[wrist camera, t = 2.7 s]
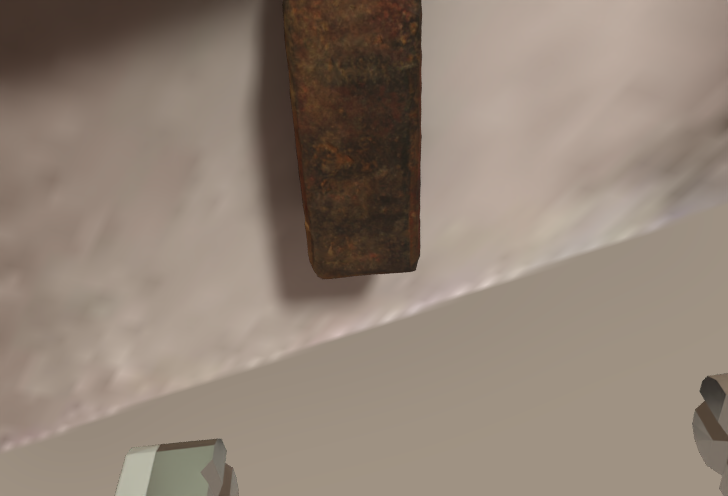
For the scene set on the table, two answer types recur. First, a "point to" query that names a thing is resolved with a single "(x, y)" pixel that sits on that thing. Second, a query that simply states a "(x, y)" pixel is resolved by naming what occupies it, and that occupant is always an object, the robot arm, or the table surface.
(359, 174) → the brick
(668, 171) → the table surface
